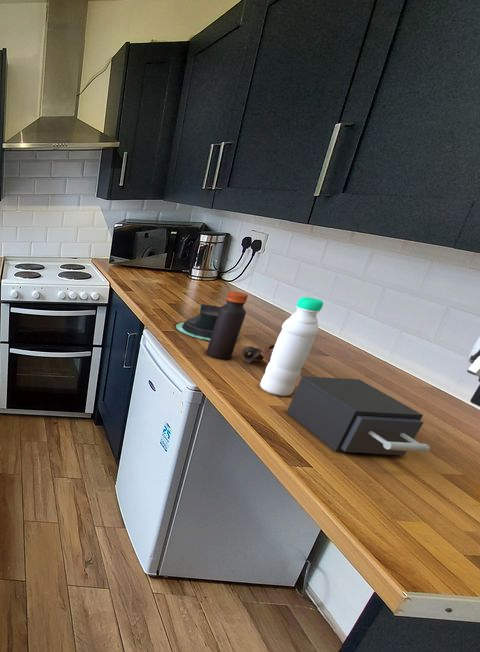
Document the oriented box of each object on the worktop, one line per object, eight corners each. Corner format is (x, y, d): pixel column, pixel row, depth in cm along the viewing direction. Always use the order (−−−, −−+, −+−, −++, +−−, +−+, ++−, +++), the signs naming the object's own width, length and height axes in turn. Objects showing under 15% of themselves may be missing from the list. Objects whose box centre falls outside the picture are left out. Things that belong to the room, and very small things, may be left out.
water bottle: (256, 389, 105) (291, 298, 95) (262, 381, 110) (296, 293, 100) (288, 400, 101) (329, 305, 91) (293, 391, 106) (332, 299, 95)
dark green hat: (172, 316, 157) (229, 324, 152) (172, 353, 146) (233, 363, 141) (185, 288, 145) (247, 296, 140) (186, 326, 134) (253, 336, 129)
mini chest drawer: (428, 472, 76) (451, 437, 72) (365, 468, 76) (385, 434, 73) (348, 417, 93) (363, 387, 89) (297, 414, 93) (310, 384, 90)
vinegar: (225, 361, 121) (247, 298, 113) (202, 354, 126) (221, 292, 118) (234, 356, 125) (255, 294, 117) (211, 349, 130) (230, 289, 122)
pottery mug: (268, 362, 123) (290, 346, 117) (274, 386, 118) (298, 371, 111) (231, 349, 123) (251, 333, 117) (235, 373, 118) (257, 357, 111)
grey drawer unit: (399, 455, 82) (423, 415, 78) (335, 451, 82) (356, 411, 78) (341, 415, 95) (359, 379, 91) (286, 412, 96) (302, 376, 91)
